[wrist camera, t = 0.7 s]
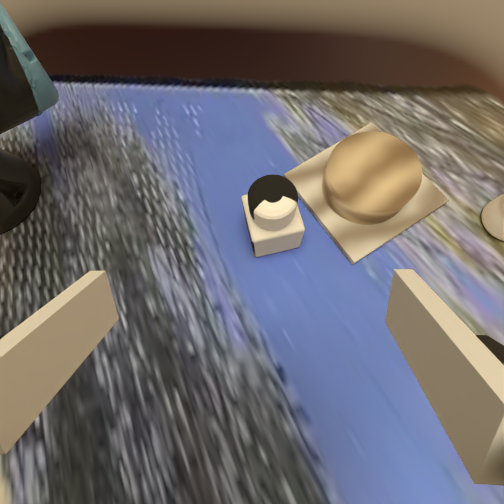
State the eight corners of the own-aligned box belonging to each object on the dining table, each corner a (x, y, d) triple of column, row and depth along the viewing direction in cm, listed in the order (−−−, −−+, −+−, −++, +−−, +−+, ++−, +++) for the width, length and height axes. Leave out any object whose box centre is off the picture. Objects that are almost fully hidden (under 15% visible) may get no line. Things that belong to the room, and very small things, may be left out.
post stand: (283, 178, 48) (285, 155, 42) (369, 127, 50) (382, 99, 44) (352, 264, 42) (365, 252, 37) (444, 204, 45) (470, 183, 39)
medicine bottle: (245, 217, 46) (236, 174, 35) (288, 207, 46) (294, 161, 35) (255, 258, 44) (249, 227, 32) (300, 247, 44) (310, 213, 32)
